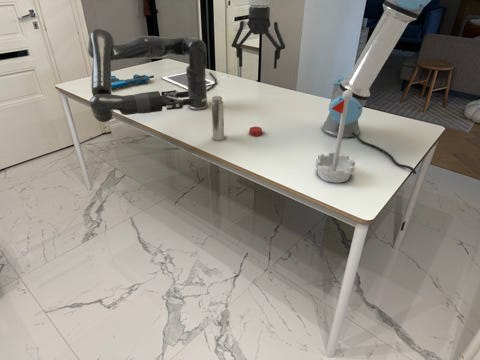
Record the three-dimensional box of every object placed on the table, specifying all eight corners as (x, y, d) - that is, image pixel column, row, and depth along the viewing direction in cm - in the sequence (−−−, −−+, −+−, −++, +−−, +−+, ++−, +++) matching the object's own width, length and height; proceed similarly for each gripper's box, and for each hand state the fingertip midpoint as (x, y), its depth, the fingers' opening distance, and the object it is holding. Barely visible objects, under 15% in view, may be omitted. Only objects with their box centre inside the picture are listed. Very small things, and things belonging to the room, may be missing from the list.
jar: (211, 139, 143) (209, 98, 133) (215, 134, 147) (213, 95, 137) (222, 141, 141) (220, 100, 132) (226, 136, 145) (224, 96, 136)
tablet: (161, 78, 216) (161, 77, 216) (188, 72, 227) (188, 71, 227) (189, 90, 196) (189, 89, 195) (217, 83, 207) (217, 82, 206)
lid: (260, 130, 150) (260, 126, 149) (262, 135, 146) (263, 131, 145) (248, 131, 150) (248, 126, 149) (250, 136, 145) (250, 132, 144)
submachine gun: (140, 68, 224) (158, 75, 207) (141, 74, 226) (159, 81, 209) (87, 79, 205) (103, 86, 189) (89, 85, 207) (104, 93, 190)
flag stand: (338, 161, 126) (352, 82, 110) (360, 179, 116) (380, 94, 100) (307, 168, 122) (318, 86, 106) (328, 187, 112) (342, 100, 96)
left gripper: (148, 99, 119) (194, 93, 123) (144, 87, 130) (186, 82, 135) (151, 119, 123) (195, 113, 127) (147, 105, 134) (188, 100, 139)
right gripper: (295, 5, 122) (290, 66, 133) (227, 4, 126) (228, 63, 137) (294, 8, 115) (289, 71, 127) (222, 6, 119) (224, 67, 131)
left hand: (190, 97), depth 131 cm, fingers open, 8 cm apart
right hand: (257, 67), depth 132 cm, fingers open, 13 cm apart
